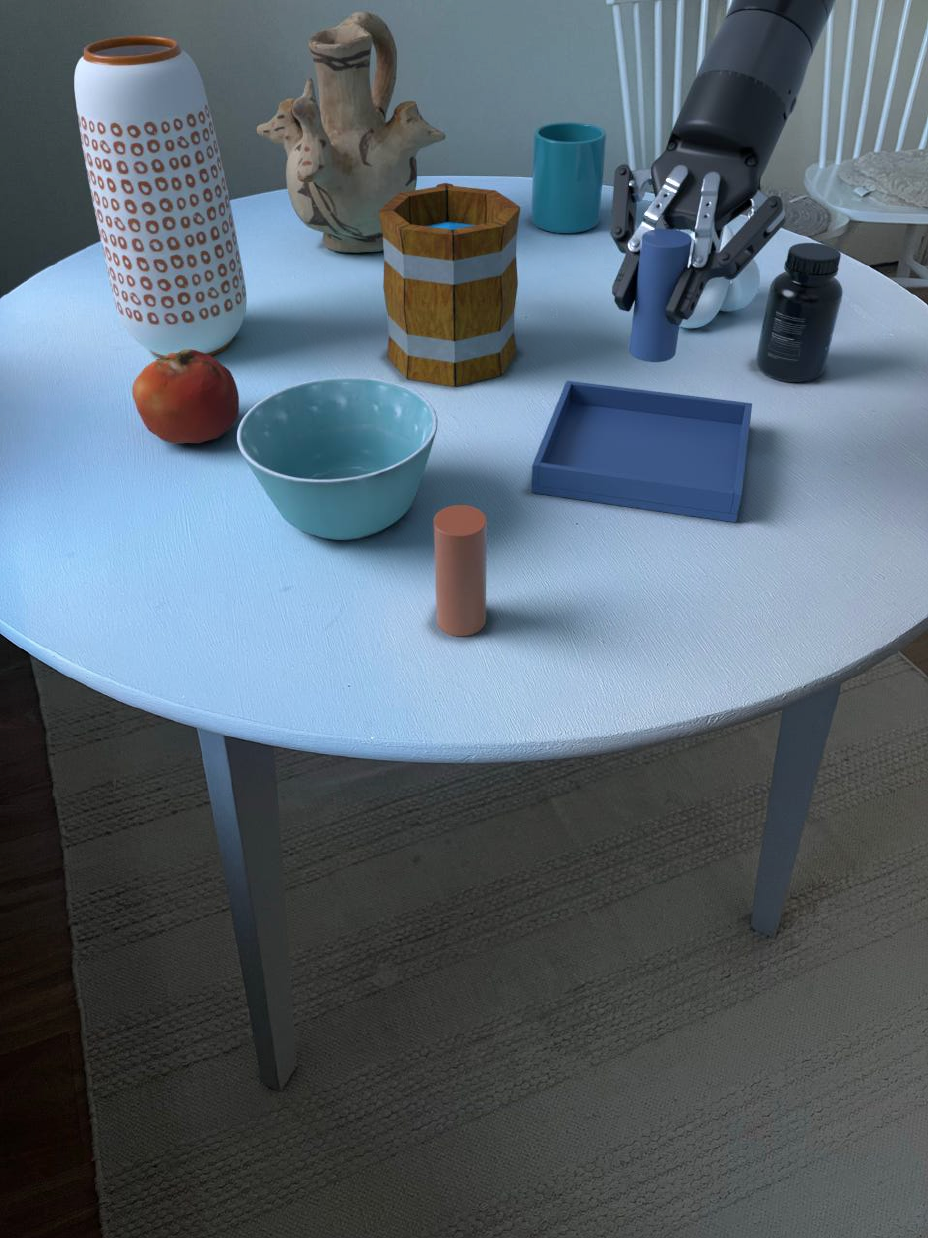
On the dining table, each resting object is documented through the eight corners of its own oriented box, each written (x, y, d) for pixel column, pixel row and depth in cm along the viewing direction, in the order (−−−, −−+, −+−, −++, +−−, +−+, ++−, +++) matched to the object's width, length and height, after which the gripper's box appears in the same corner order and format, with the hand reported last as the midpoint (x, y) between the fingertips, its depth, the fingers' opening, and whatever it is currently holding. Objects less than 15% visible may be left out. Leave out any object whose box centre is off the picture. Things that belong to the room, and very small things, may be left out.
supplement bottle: (837, 376, 101) (868, 258, 93) (780, 389, 99) (807, 270, 91) (796, 348, 106) (822, 233, 98) (741, 359, 104) (763, 243, 96)
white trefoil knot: (692, 349, 106) (705, 265, 100) (615, 310, 113) (622, 229, 107) (765, 320, 111) (781, 239, 105) (686, 285, 118) (697, 207, 112)
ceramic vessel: (267, 229, 132) (238, 10, 115) (402, 207, 138) (393, -4, 121) (311, 281, 119) (286, 45, 103) (457, 255, 125) (455, 26, 109)
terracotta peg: (491, 608, 74) (492, 508, 68) (478, 640, 72) (479, 539, 66) (444, 600, 75) (442, 501, 69) (430, 631, 72) (426, 531, 67)
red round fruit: (126, 430, 94) (105, 351, 89) (213, 398, 98) (198, 321, 93) (173, 471, 89) (154, 390, 83) (263, 436, 93) (250, 356, 88)
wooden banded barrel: (522, 384, 100) (528, 233, 90) (387, 389, 99) (377, 237, 90) (505, 301, 115) (508, 163, 105) (387, 305, 114) (378, 167, 104)
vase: (162, 384, 100) (91, 72, 82) (105, 338, 108) (28, 43, 90) (276, 345, 107) (235, 47, 88) (215, 304, 115) (165, 22, 96)
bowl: (265, 584, 77) (249, 494, 71) (241, 475, 88) (225, 390, 83) (462, 547, 80) (461, 459, 74) (414, 447, 91) (410, 364, 86)
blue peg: (677, 343, 80) (694, 230, 74) (672, 364, 77) (689, 249, 71) (632, 339, 81) (645, 226, 75) (626, 359, 78) (638, 244, 72)
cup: (601, 204, 138) (608, 116, 131) (597, 236, 129) (605, 143, 122) (535, 201, 139) (539, 114, 132) (527, 233, 130) (531, 141, 123)
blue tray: (746, 429, 93) (752, 402, 91) (736, 522, 82) (742, 494, 80) (564, 406, 97) (566, 380, 95) (531, 492, 86) (532, 464, 84)
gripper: (642, 53, 74) (548, 269, 75) (829, 81, 68) (725, 316, 69) (665, 113, 81) (579, 311, 82) (838, 144, 75) (742, 357, 75)
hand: (646, 312), depth 75 cm, fingers closed on blue peg, 3 cm apart
